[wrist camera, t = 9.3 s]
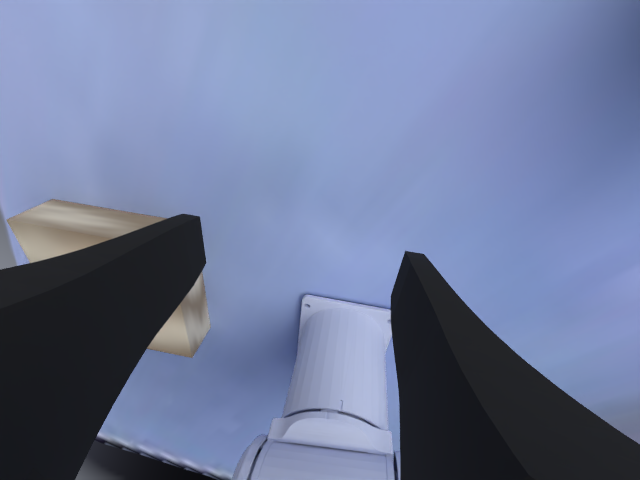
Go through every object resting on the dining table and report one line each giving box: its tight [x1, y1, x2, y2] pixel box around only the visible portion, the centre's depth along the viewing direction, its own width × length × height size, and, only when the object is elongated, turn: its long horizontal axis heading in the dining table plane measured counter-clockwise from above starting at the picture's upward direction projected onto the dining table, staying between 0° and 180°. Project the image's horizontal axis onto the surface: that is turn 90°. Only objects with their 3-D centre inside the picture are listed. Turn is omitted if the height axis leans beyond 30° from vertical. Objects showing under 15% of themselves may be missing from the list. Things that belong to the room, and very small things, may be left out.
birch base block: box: [7, 199, 211, 358], centre depth 25 cm, size 12×12×4 cm
